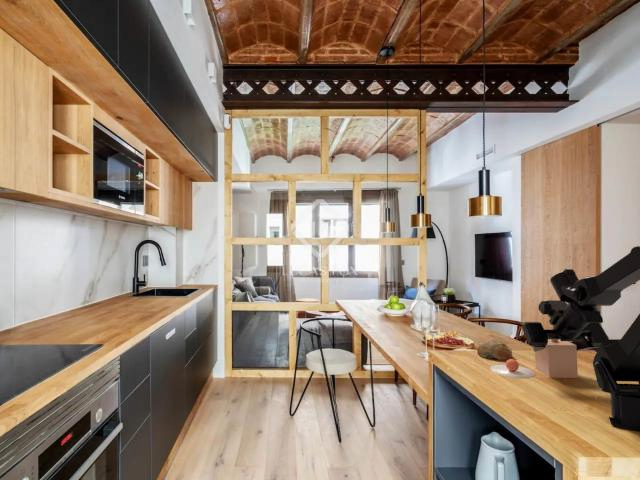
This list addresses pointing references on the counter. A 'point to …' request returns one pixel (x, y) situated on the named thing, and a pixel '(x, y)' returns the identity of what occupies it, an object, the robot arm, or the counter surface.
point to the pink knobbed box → (557, 359)
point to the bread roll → (494, 350)
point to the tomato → (512, 365)
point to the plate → (513, 372)
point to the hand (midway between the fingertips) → (552, 350)
